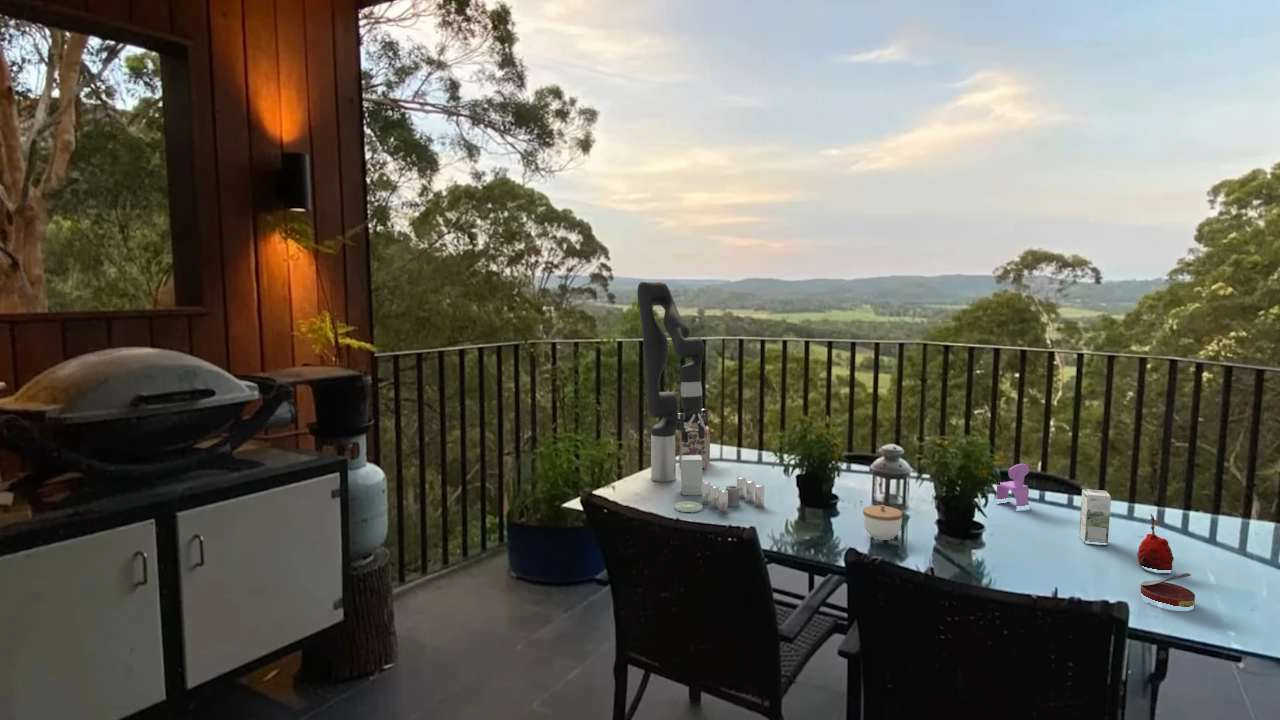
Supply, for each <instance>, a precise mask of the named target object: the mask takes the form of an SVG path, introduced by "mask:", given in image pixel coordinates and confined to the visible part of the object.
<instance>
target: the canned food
mask: <svg viewBox="0 0 1280 720" xmlns="http://www.w3.org/2000/svg"><path fill="white" fill-rule="evenodd" d="M1191 576H1192V573H1189V572H1186V573H1181V574H1179V575H1173V576H1170V577H1168V578H1163V579H1162V578H1161V579H1153V580H1147V581H1143V582H1141V583H1140V592H1141V593H1142V594H1143V595H1144V596H1146V597H1148V598H1150V599H1152V600H1155V601H1158V602H1162V603H1166V604H1170V605H1173V606H1181V607H1190V606H1193V605H1194V606H1195V601H1196V600H1195V599H1196V594H1195V593H1194V592H1193V591H1192V590H1190V589H1188V588H1187V587H1184V586H1181V585H1179V584H1174V583H1172V582H1170V581H1173V580H1177V579H1178V580H1179V579H1182V578H1187V577H1191Z"/></svg>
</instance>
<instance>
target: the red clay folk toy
mask: <svg viewBox="0 0 1280 720" xmlns="http://www.w3.org/2000/svg"><path fill="white" fill-rule="evenodd" d="M1150 517H1151V518H1150V519H1149V521H1151V526H1150V530H1151V533H1147V534H1146V537H1145V538H1144V539H1142V541H1141V543H1140V545H1139V546H1138V551H1137V560H1138V561H1137V562H1139V563H1138V565H1139V566H1140V565H1141V566H1144V567H1147V568H1152V569H1157V570H1171V571H1173V570H1172V569H1173V562H1174V556H1173V551H1172V548H1171V547H1170V545H1169V541H1168V540H1167V539H1166V538H1162V537H1160V536H1158V535H1157V534H1156V533H1155V528H1156V527H1155V523H1156V524H1157V525H1158V526H1160V525H1161V521H1159V520H1156V519H1155V517H1154V515H1152V513H1150ZM1141 566H1140V567H1141Z"/></svg>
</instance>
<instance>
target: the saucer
mask: <svg viewBox="0 0 1280 720" xmlns="http://www.w3.org/2000/svg"><path fill="white" fill-rule="evenodd" d="M675 509H676V510H675ZM674 510H675V511H676V512H679V511H681V512H680V513H684V512H691V513H690V514H692V513H693V512H694V513H699V512H702V510H703V504H702V503H700V502H696V501H679V502H677V503H675V504H674ZM698 511H699V512H698ZM694 513H693V514H694Z"/></svg>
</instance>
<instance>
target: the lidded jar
mask: <svg viewBox="0 0 1280 720" xmlns="http://www.w3.org/2000/svg"><path fill="white" fill-rule="evenodd" d="M862 514H863V517H862V518H863V526H864V528H865V530H866V532H867V534H868V535H869V536H870V537H871V538H872V537H873V538H876V539H879V540H878V541H881V540H889V541H891V540H890V539H892V538H893V539H894V538H895V537H896V536H897V535H898V534H899V533H900V531H901V528H902V524H903V523H902V522H903V514H904V513H903V512H902V511H901V510H900V509H898V508H895V507H893V506H887V505H885V504H881V505H869V506H865V507H863V510H862ZM873 538H872V539H873ZM876 539H875V540H876ZM893 539H892V540H893Z"/></svg>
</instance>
